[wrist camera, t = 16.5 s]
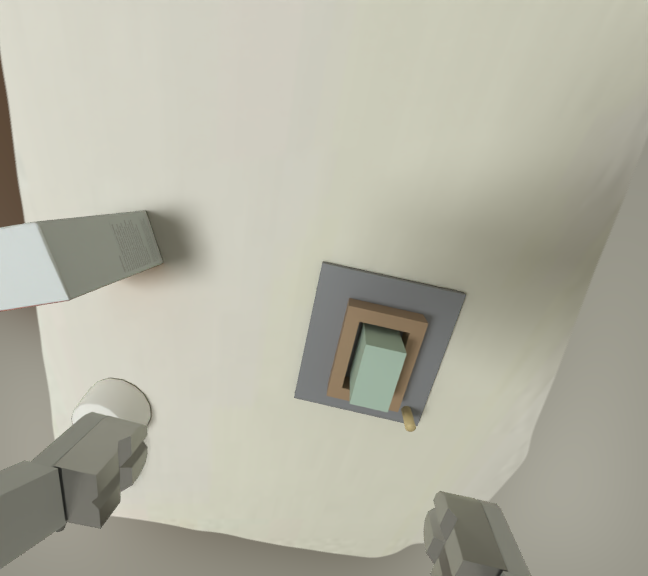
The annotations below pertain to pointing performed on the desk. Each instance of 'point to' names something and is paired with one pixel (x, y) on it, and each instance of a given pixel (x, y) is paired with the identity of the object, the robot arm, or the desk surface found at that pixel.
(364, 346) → the sage block
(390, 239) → the desk surface
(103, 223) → the small box
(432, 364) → the keyed plate
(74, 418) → the inkwell
